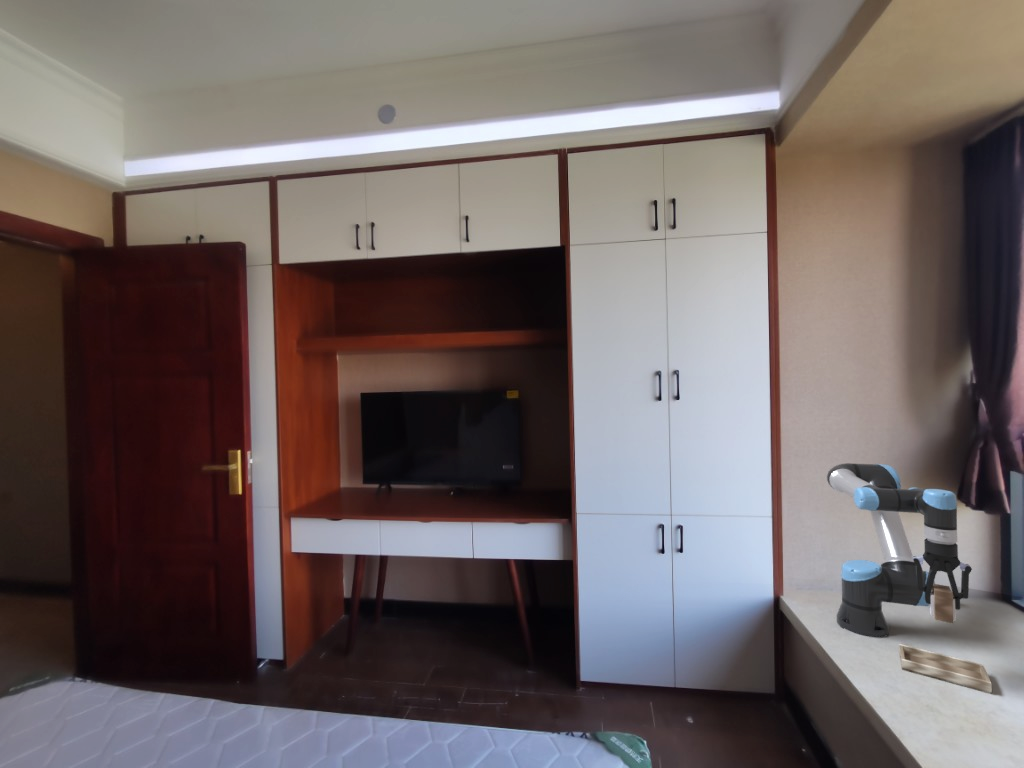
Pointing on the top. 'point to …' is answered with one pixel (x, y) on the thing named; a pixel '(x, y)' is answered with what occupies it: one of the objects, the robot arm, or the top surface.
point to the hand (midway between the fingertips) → (942, 616)
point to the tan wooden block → (943, 603)
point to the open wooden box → (945, 668)
